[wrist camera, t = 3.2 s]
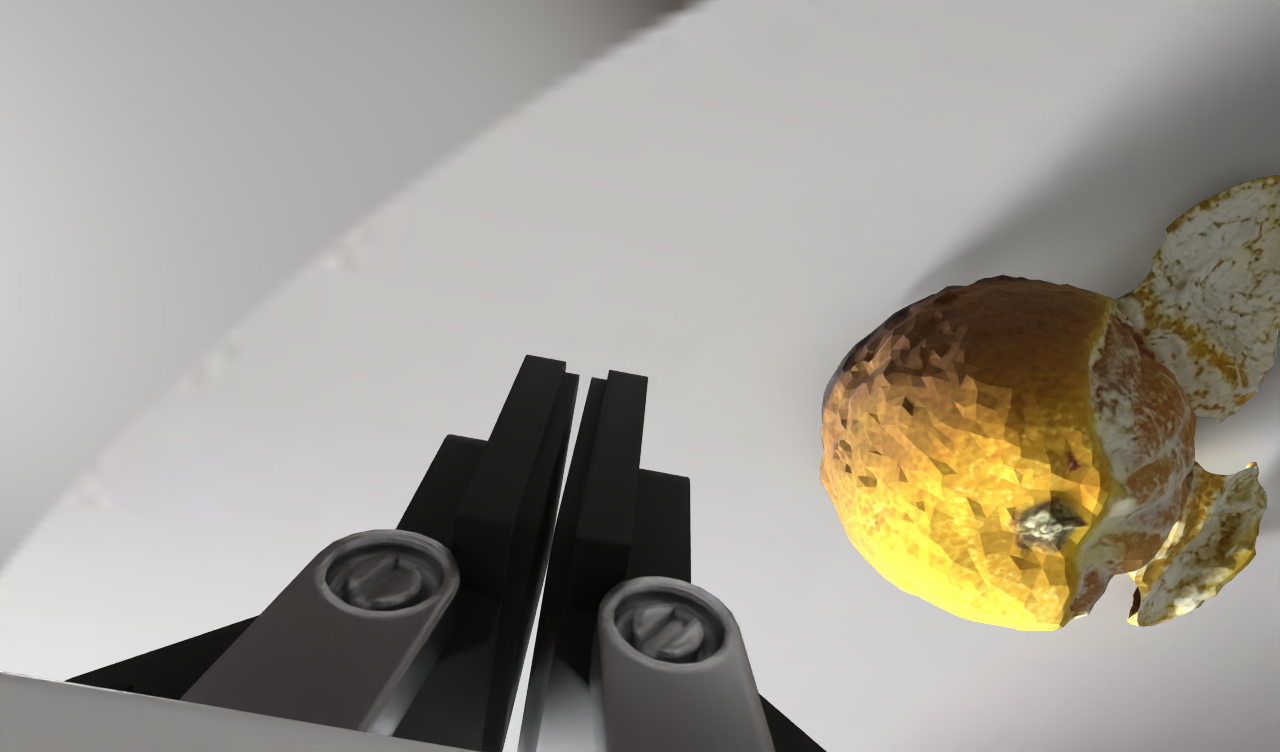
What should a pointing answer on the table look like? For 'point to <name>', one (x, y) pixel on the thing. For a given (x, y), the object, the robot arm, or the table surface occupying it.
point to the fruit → (1063, 430)
